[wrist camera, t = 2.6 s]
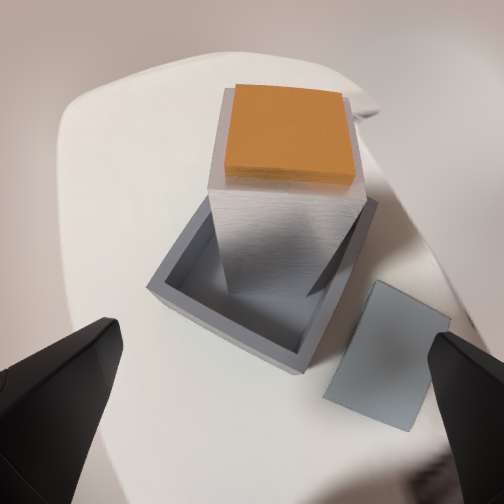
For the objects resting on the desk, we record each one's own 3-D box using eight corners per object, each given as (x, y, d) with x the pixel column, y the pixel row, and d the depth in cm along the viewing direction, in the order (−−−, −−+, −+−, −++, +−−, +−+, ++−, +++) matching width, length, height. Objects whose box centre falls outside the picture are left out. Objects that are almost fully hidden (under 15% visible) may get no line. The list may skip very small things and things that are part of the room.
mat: (405, 431, 18) (409, 432, 17) (323, 397, 19) (324, 397, 19) (447, 320, 21) (450, 318, 21) (374, 281, 22) (376, 279, 22)
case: (293, 375, 20) (303, 373, 16) (162, 303, 21) (145, 287, 18) (360, 228, 24) (378, 202, 20) (246, 175, 26) (246, 142, 22)
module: (305, 297, 21) (373, 190, 9) (228, 293, 21) (205, 178, 9) (305, 228, 23) (351, 87, 11) (234, 224, 23) (224, 76, 11)
